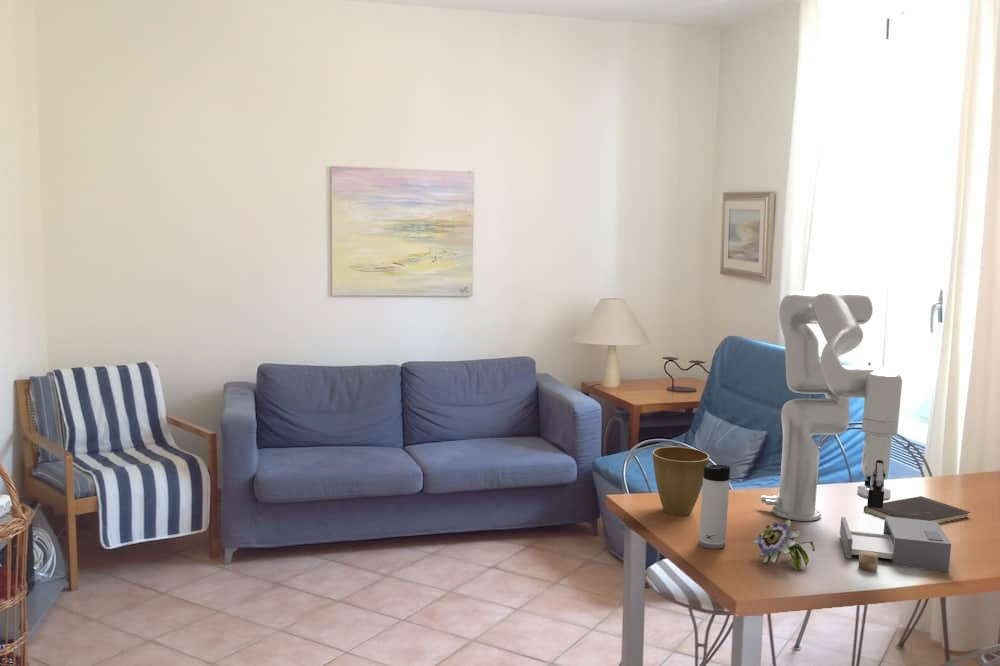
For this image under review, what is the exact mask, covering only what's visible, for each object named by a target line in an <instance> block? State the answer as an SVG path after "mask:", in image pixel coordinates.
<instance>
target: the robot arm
mask: <svg viewBox="0 0 1000 666" xmlns="http://www.w3.org/2000/svg"><path fill="white" fill-rule="evenodd" d="M778 309H779V312H778V314H779V323H780V328H781V330H782V334H783V337H784V339H783V340H784V347H785V376H786V377H785V379H786V385H787V387H788V389H789V390H790V391H791V392H793V393H797V394H809V395H810V394H811V395H812V394H813V395H814V394H815V395H817V394H818V395H819V394H820V395H821V394H822V395H823V394H824V396H825V398H794V399H790V400H788V401H787V402H785V403H784V404H783V406H782V408H781V411H780V413H781V414H780V418H781V427H782V448H781V451H782V452H781V463H780V478H779V491H778V492H777V494H776V495H773V496H768V495H762V494H761V496H760V497H761V498H760V502H761V503H764V504H765V505H766V506H767V505H768V506H772V507H771V512H772V513H773V514H774V515H776V516H777V517H779V518H782V519H786V520H790V521H797V522H798V521H799V522H800V521H801V522H812V521H817V520H819V519H821V516H822V515H821V511H820V510H819V509H817V508H816V504H817V503H816V501H817V491H818V490H817V488H818V476H819V475H818V474H819V466H820V465H819V464H820V449H819V447H818V445H817V443H816V442H815V440H814V439H813V436H817V435H821V436H823V435H825V436H826V435H829V436H830V435H831V436H832V435H833V436H834V435H841V434H844V433H845V432H846V430H847V429H848V428H849V423H850V398H851V399H852V398H853V399H854V398H856V399H858V398H860V399H861V398H862V399H863V398H864V400H863V403H864V404H863V414H862V421H861V422H862V425H861V432H862V433H864V439H863V450H862V456H861V461H860V462H861V464H860V469H861V470H862V474H863V476H864V477H865V479H864V485H870V489H869V492H868V499H867V503H866V504H867V505H866V506H868V507H871V508H883V503H884V501H883V499H884V488H885V480H886V479H887V478H888V476H889V470H890V461H891V454H892V453H891V451H892V438H893V437H896V436H897V435H898V430H899V419H900V411H901V409H900V408H901V399H902V398H901V396H902V389H903V388H902V387H903V379H902V377H901V375H900V374H898V373H895V372H891V371H889V369H887V368H886V367H884V366H880V365H864V364H863V365H859V364H858V365H854V364H849V365H848V364H844V363H843V362H842V361H841V360H840V359H839V357H840V356H842V355H844V354H847V353H849V352H851V351H853V350H855V349H856V348H858V346H859V345H861V343H862V341H863V338H864V334H863V333H864V332H863V330H862V328H861V326H860V325H865V324H867V323H868V322H869V321H870V320H871V318H872V316H873V304H872V301H871V298H870V297H869V296H868V295H867V294H866V293H865V292H862V291H859V290H833V289H831V290H825V291H796V292H791V293H788V294H786V295H785V296H784V297H783V298H782V300H781V302H780V305H779V308H778ZM809 325H818V326H819V328H820V330H821V332H822V334H823V337H824V338H825V341H826V344H825V345H824V347H823V349H822V352H821V355H820V354H819V352H820V351H819V341H818V337H817V336H816V334H815V333H814V331H813V330H812V329H811V327H810V326H809Z"/></svg>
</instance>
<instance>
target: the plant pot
mask: <svg viewBox="0 0 1000 666" xmlns="http://www.w3.org/2000/svg"><path fill="white" fill-rule="evenodd" d="M652 460H653V461H652V463H653V471H654V476H655V477H654V478H655V484H656V487H657V493H658V497H659V500H660V504H661V505H662V509H663V511H664V512H665V513H667V514H669V515H673V516H688V515H691V513H692V512H693V510H694V508H695V506H696V504H697V501H698V499H699V496H700V493H701V492H702V484H703V474H704V466H708V465H709V460H710V455H709V454H708V453H707V452H704V451H703V450H701V449H696V448H692V447H684V446H663V447H657V448H654V449H653V451H652Z"/></svg>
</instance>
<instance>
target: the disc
mask: <svg viewBox="0 0 1000 666" xmlns="http://www.w3.org/2000/svg"><path fill="white" fill-rule="evenodd" d="M869 489H870V485H865V484H861V485H858V486H857V491H856V492H857V493H856V494H857V497H860V498H862V499H865V500H868V492H869ZM891 492H892V491H891V490H890V489H889V488H887V487H884V499H883V502H887V501H890V499H891Z"/></svg>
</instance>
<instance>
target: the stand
mask: <svg viewBox="0 0 1000 666" xmlns="http://www.w3.org/2000/svg"><path fill="white" fill-rule="evenodd" d="M878 563H879V557H878V554H876V553H873V552H869V551H862V552H860V554H859V555H858V566H857V568H858V569H859V570H860V571H863V572H867V573H875V572H878V571H877V570H878Z"/></svg>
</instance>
